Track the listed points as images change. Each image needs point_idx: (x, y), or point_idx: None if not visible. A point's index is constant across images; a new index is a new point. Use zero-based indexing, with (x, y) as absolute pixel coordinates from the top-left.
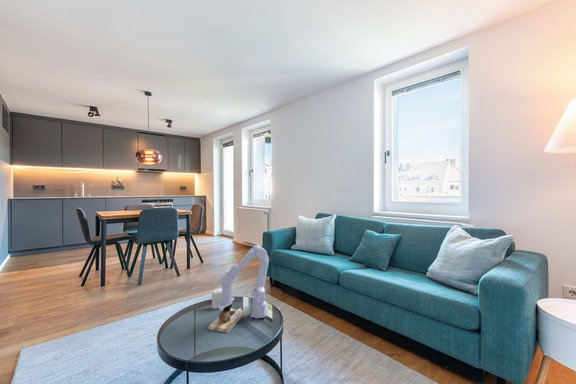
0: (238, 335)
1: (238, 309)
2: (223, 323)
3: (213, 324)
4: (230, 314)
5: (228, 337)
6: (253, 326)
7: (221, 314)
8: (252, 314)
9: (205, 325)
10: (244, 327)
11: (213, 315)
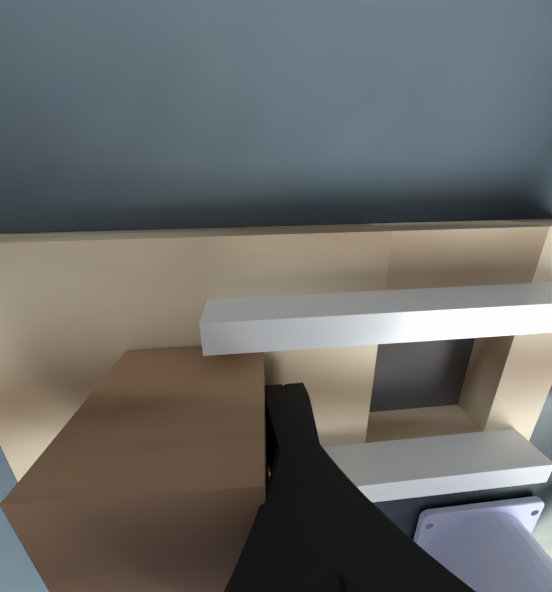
0: None
1: (508, 470)
2: None
3: (10, 306)
4: None
5: (9, 527)
6: None
7: (36, 564)
8: (463, 517)
9: (22, 96)
10: None
11: (393, 26)
